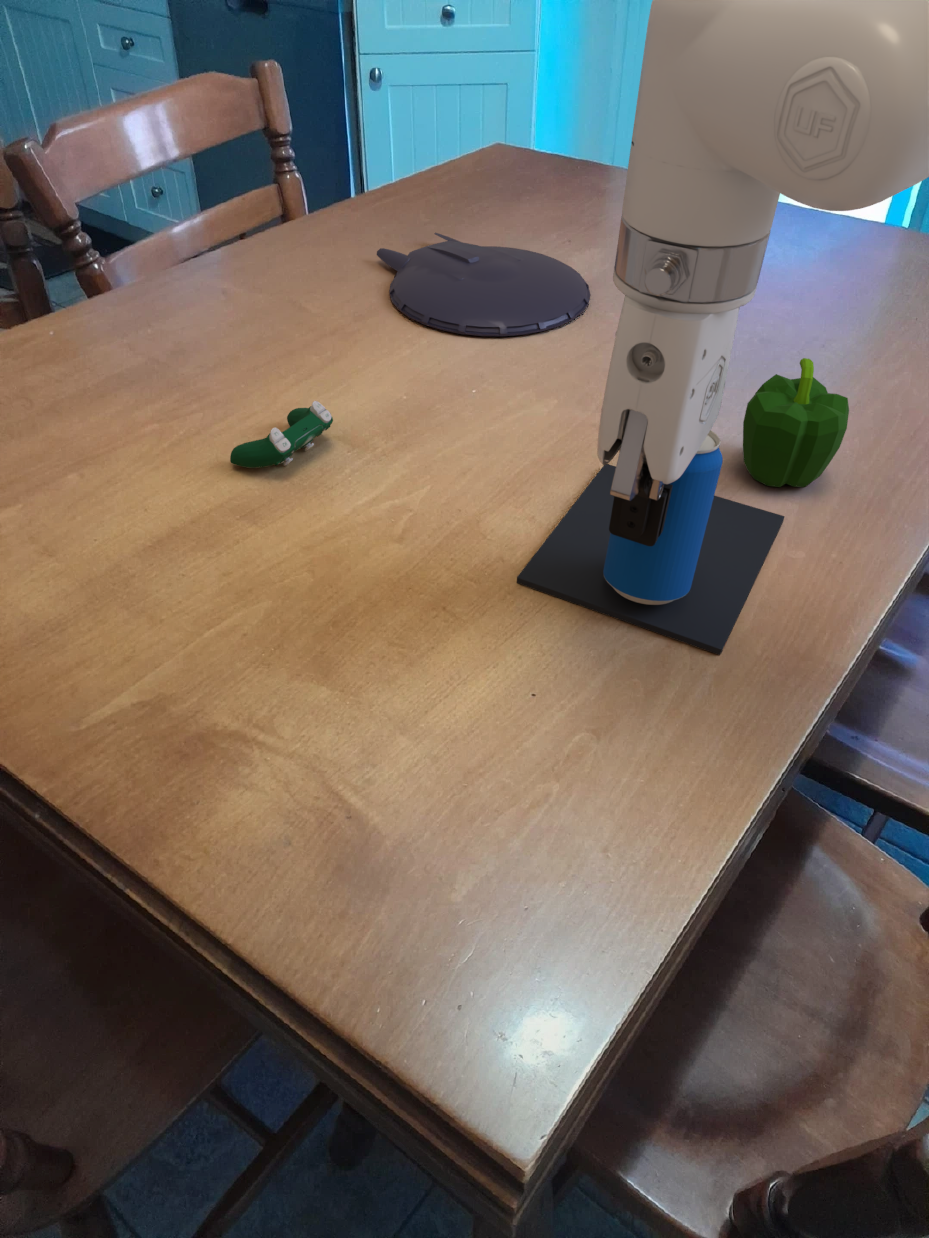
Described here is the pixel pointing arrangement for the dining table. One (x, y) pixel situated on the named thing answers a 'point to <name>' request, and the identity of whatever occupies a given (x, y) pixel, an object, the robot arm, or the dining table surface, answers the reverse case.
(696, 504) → the beverage can
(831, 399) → the bell pepper
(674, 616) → the mat
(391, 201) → the dining table surface
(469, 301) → the toy spaceship
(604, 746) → the dining table surface
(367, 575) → the dining table surface
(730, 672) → the dining table surface
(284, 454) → the gaming controller
